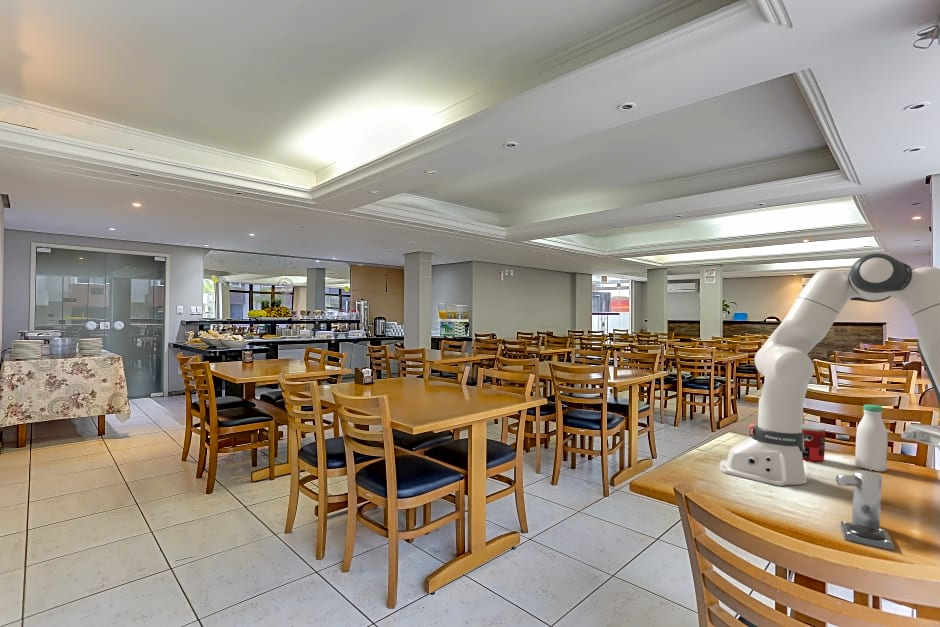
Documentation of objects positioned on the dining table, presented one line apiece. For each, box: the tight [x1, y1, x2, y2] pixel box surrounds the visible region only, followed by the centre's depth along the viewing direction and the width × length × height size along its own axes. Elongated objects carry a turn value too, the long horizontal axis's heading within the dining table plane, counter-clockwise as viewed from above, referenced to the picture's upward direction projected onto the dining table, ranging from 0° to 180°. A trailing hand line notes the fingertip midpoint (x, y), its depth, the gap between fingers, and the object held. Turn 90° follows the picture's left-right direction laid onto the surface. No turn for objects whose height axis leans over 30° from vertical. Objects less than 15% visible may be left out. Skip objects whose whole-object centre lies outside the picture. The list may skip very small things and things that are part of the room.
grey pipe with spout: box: [835, 469, 883, 529], centre depth 111 cm, size 9×5×12 cm, turn 90°
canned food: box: [802, 423, 826, 463], centre depth 161 cm, size 8×8×11 cm
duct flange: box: [840, 520, 895, 551], centre depth 105 cm, size 8×8×2 cm
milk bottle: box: [854, 403, 889, 472], centre depth 153 cm, size 8×8×20 cm
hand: (922, 441), depth 110 cm, fingers open, 8 cm apart
